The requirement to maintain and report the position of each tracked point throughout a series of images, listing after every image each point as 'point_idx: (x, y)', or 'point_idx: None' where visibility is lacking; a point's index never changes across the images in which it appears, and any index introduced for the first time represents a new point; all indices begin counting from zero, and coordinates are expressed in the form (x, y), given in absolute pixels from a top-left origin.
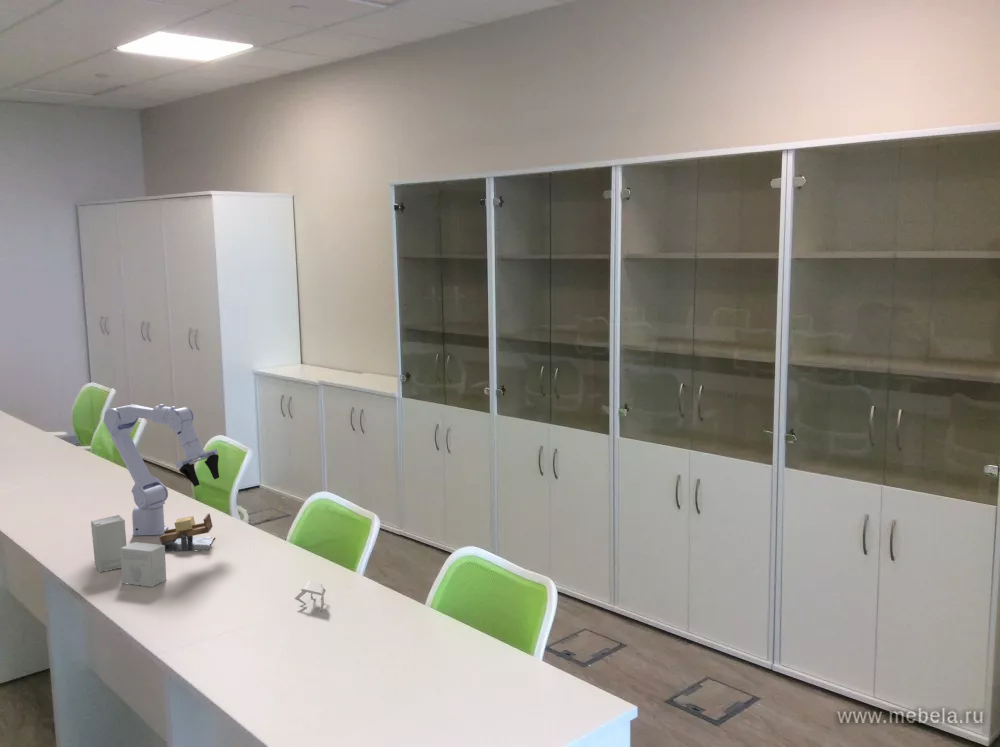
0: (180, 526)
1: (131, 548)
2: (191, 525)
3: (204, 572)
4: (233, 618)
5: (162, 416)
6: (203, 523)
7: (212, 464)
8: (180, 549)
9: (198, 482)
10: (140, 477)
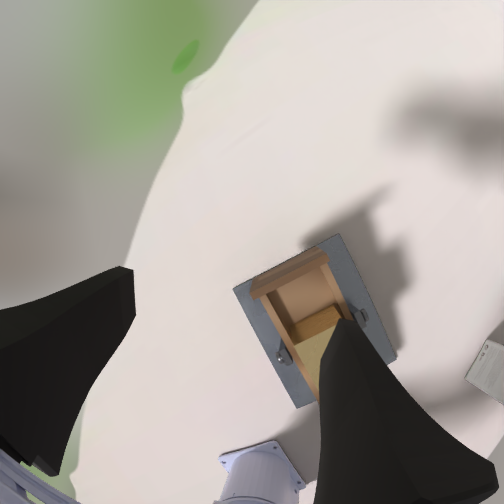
0: None
1: None
2: (337, 312)
3: (450, 138)
4: (499, 26)
5: None
6: (272, 306)
7: (46, 363)
8: (367, 310)
9: (351, 328)
10: None
